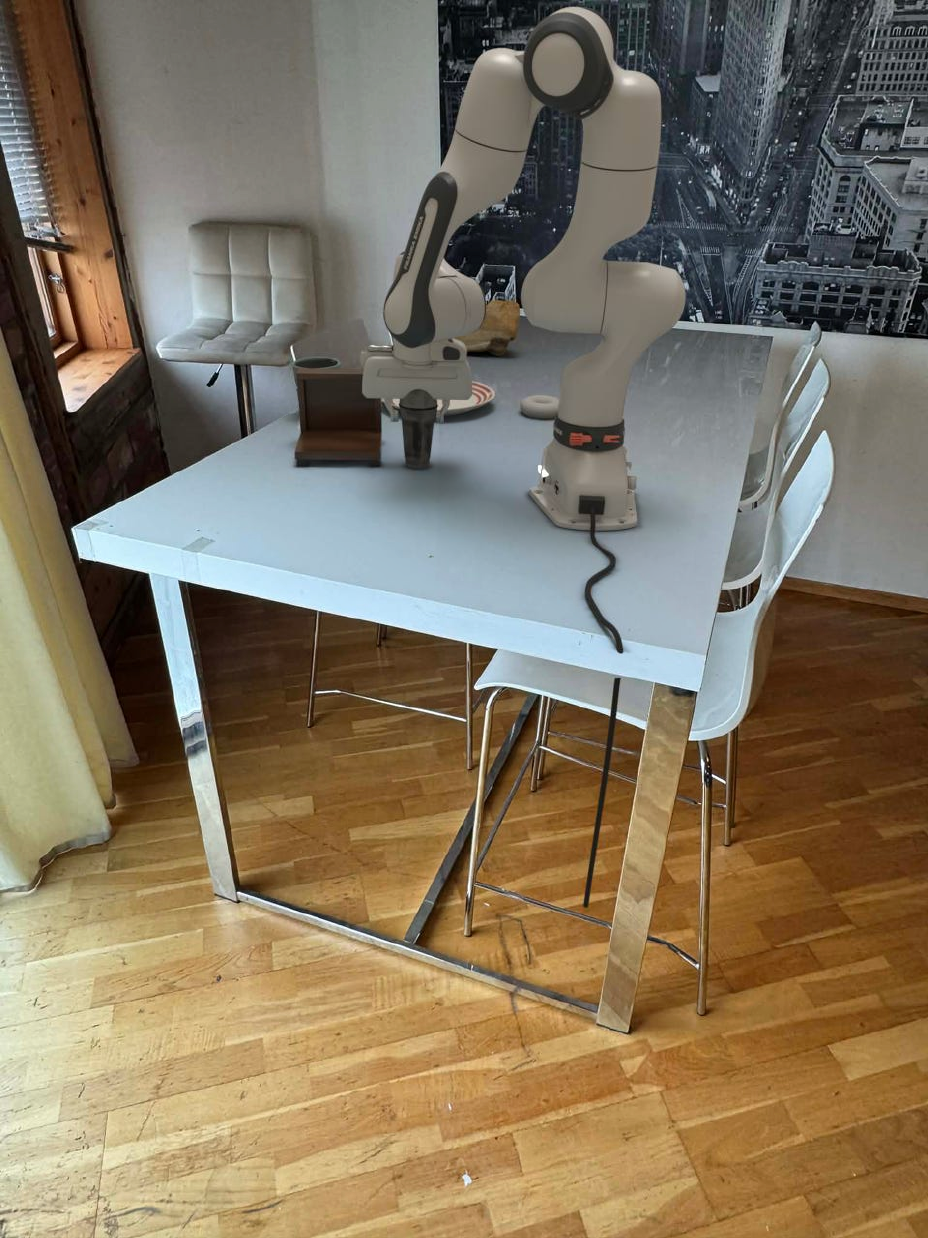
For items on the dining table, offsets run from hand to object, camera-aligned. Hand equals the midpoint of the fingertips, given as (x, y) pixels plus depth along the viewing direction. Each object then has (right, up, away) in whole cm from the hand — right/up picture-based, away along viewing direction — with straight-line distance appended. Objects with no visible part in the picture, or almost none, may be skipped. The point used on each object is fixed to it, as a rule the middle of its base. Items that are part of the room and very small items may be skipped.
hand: (416, 421), depth 158 cm
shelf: (-15, -4, +8) cm, 18 cm away
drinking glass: (-23, +7, +28) cm, 37 cm away
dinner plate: (+2, +13, +39) cm, 41 cm away
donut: (+27, +10, +35) cm, 45 cm away
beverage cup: (0, -8, +4) cm, 9 cm away
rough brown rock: (+14, +41, +87) cm, 97 cm away
